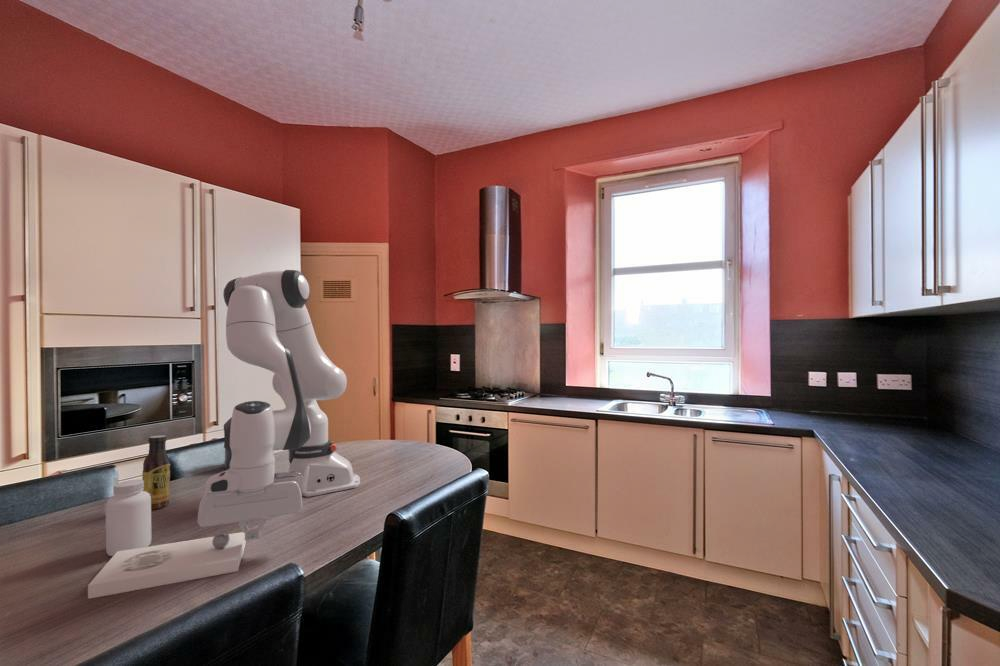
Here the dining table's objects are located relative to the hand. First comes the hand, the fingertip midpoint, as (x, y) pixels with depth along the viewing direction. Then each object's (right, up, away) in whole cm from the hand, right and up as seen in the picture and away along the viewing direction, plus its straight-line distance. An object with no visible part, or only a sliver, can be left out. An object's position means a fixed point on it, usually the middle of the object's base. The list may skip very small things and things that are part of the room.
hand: (252, 538), depth 99 cm
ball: (-6, +1, -2) cm, 6 cm away
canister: (-40, -4, +68) cm, 79 cm away
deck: (-13, -4, -5) cm, 14 cm away
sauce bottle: (-43, -4, +27) cm, 51 cm away
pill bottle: (-30, -4, +3) cm, 30 cm away
